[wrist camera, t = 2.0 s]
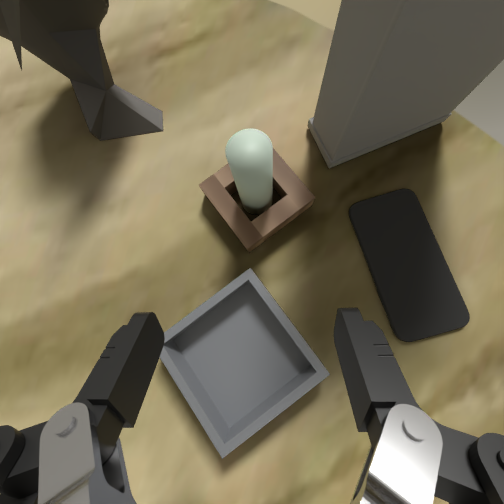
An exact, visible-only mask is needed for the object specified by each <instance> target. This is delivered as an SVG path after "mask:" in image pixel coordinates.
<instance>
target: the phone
mask: <svg viewBox="0 0 504 504" xmlns="http://www.w3.org/2000/svg"><path fill="white" fill-rule="evenodd" d="M349 217H350V220H351V222H352V225H353V228H354V230H355V233H356V236H357V238H358V241H359V243H360V246H361V249H362V251H363V254H364V257H365V259H366V262H367V264H368V267H369V270H370V272H371V275H372V278H373V280H374V283H375V285H376V288H377V292H378V294H379V297H380V300H381V302H382V305H383V306H384V309H385V312H386V314H387V317H388V320H389V322H390V325H391V327H392V330H393V332H394V334H395V336H396V337H397V338H398V339H400V340H402V341H406V342H412V341H416V340H420V339H423V338H427V337H431V336H434V335H438V334H441V333H445V332H448V331H452V330H455V329H458V328H462V327H464V326H465V325H467V324H468V322H469V312H468V310H467V307H466V305H465V303H464V301H463V298H462V296H461V294H460V292H459V290H458V287H457V285H456V283H455V281H454V278H453V276H452V274H451V272H450V270H449V267H448V265H447V263H446V261H445V259H444V256H443V254H442V252H441V250H440V247H439V245H438V243H437V241H436V239H435V236H434V234H433V232H432V230H431V227H430V225H429V223H428V221H427V219H426V216H425V214H424V212H423V210H422V208H421V205H420V203H419V201H418V199H417V197H416V195H415V193H414V192H413V191H411V190H409V189H400V190H396V191H393V192H390V193H386V194H383V195H380V196H377V197H373V198H370V199H367V200H364V201H360V202H357V203H355V204H353V205H352V206H351V208H350V209H349Z"/></svg>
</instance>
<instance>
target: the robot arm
mask: <svg viewBox="0 0 504 504" xmlns="http://www.w3.org/2000/svg"><path fill="white" fill-rule="evenodd" d="M164 341H165V336H164V332H163V330H162V328H161V326H160V323H159V321H158V319H157V317H156V315H155V313H153V312H141V313H135V314H134V315H133V316H132V318H131V319H130V321H129V323H128V325H123V326H122V327H121V328H120V329H119V330H118V331H117V332H116V333H115V334H114V335H113V336H112V337H111V339H110V341H109V342H108V344H107V346H106V349H105V350H104V351H103V353H102V354H101V356H100V359H99V360H98V361H97V363H96V365H95V366H94V368H93V370H92V372H91V373H90V375H89V377H88V379H87V380H86V382H85V384H84V385H83V387H82V389H81V391H80V392H79V394H78V396H77V397H76V399H75V400H74V401H73V403H72V404H69V405H67V406H65V407H63V408H61V409H60V410H59V411H57V412H56V413H55V414H54V415H53V416H52V417H51V418H50V419H49V421H46V422H43V423H40V424H38V425H35V426H32V427H29V428H26V429H23V430H20V431H18V430H16V429H15V428H13V427H11V426H9V425H4V426H0V493H1V494H0V504H136V502H135V500H134V498H133V496H132V494H131V490H130V486H129V481H128V476H127V471H126V467H125V462H124V457H123V452H122V447H121V442H120V439H119V435H120V433H121V430H122V428H133V427H134V425H135V422H136V419H137V417H138V414H139V411H140V408H141V406H142V403H143V400H144V398H145V395H146V392H147V390H148V387H149V384H150V381H151V379H152V376H153V373H154V371H155V368H156V365H157V363H158V360H159V357H160V355H161V352H162V349H163V346H164ZM334 342H335V346H336V350H337V354H338V358H339V361H340V365H341V369H342V373H343V376H344V380H345V384H346V388H347V391H348V395H349V399H350V403H351V406H352V410H353V414H354V418H355V421H356V425H357V429H358V432H368V435H369V439H370V442H371V446H370V449H369V451H368V454H367V457H366V460H365V463H364V465H363V468H362V471H361V474H360V477H359V480H358V482H357V485H356V488H355V491H354V494H353V496H352V499H351V502H350V504H433V499H434V496H435V497H438V498H440V499H442V500H445V501H447V502H449V504H504V436H503V435H500V434H496V433H487V434H484V435H482V436H481V437H479V438H478V437H475V436H472V435H469V434H466V433H463V432H460V431H457V430H454V429H451V428H448V427H446V426H443V425H441V424H439V423H437V422H436V421H434V420H433V419H431V418H430V417H429V416H428V415H427V414H426V413H425V412H423V410H422V409H421V408H420V407H419V406H418V404H417V403H416V401H415V399H414V397H413V395H412V393H411V391H410V389H409V387H408V385H407V382H406V380H405V378H404V376H403V374H402V372H401V370H400V367H399V365H398V363H397V361H396V359H395V357H394V356H393V352H392V350H391V348H390V347H389V344H388V342H387V340H386V337H385V335H384V333H383V331H382V330H381V329H380V328H379V327H378V326H377V325H376V324H375V323H374V322H373V321H363V318H362V316H361V313H360V311H359V309H358V308H338V310H337V315H336V321H335V327H334Z"/></svg>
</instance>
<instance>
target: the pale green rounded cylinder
mask: <svg viewBox="0 0 504 504" xmlns="http://www.w3.org/2000/svg"><path fill="white" fill-rule="evenodd" d="M226 158H227V161H228V164H229V167H230V170H231V172H232V175H233V178H234V181H235V184H236V187H237V190H238V193H239V196H240V199H241V202H242V205H243V207H244V209H245V210H246V211H247V212H249V213H250V214H254V215H260V214H262V213H263V212H265V211H266V210H267V209H269V208H270V207H271V205H272V191H273V147H272V143H271V140H270V139H269V137H268V136H267V135H266V134H265V133H264V132H262V131H260V130H257V129H244V130H241V131H239V132H237V133H235V134H234V135H233V136H232V137H231V138H230V139H229V141H228V143H227V145H226Z"/></svg>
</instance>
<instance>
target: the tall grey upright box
mask: <svg viewBox="0 0 504 504" xmlns="http://www.w3.org/2000/svg"><path fill="white" fill-rule="evenodd" d="M503 59H504V0H342V2H341V6H340V10H339V14H338V18H337V22H336V27H335V31H334V35H333V39H332V43H331V48H330V52H329V56H328V60H327V64H326V68H325V73H324V77H323V81H322V85H321V89H320V94H319V98H318V102H317V106H316V110H315V115H314V117H313V118H310V119H309V121H308V128H309V130H310V132H311V134H312V136H313V138H314V140H315V142H316V144H317V146H318V148H319V150H320V152H321V154H322V156H323V158H324V160H325V162H326V164H327V166H328V168H331V167H334V166H336V165H339V164H341V163H343V162H346V161H348V160H351V159H353V158H356V157H358V156H360V155H363V154H365V153H368V152H370V151H373V150H375V149H378V148H380V147H382V146H385V145H387V144H390V143H392V142H395V141H397V140H399V139H402V138H404V137H407V136H409V135H412V134H414V133H417V132H419V131H421V130H424V129H426V128H429V127H431V126H434V125H436V124H438V123H441V122H443V121H445V120H446V119H447V118H448V117H449V116H450V115H451V112H452V111H453V110H454V109H455V108H456V107H457V106H458V105H459V104H460V103H461V102H462V101H463V100H464V99H465V98H466V97H467V96H468V95H469V94H470V93H471V91H473V90H474V88H475V87H477V85H479V83H481V82H482V81H483V79H484V78H485V77H486V76H488V75H489V73H490V72H491V71H493V70H494V68H496V66H497V65H498V64H499V63H500V62H501V61H502V60H503Z"/></svg>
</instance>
